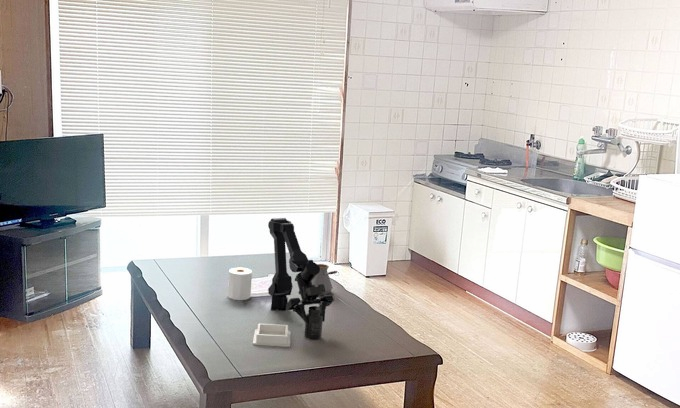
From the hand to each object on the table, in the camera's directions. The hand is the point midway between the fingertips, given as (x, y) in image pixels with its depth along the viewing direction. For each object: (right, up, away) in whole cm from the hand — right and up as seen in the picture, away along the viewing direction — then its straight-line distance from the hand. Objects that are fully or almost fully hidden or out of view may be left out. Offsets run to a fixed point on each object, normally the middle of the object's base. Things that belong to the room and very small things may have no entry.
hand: (315, 322), depth 285 cm
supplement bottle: (-1, -6, +3) cm, 7 cm away
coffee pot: (+2, +4, +52) cm, 52 cm away
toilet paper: (-36, +5, +42) cm, 55 cm away
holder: (-17, -6, -2) cm, 18 cm away
